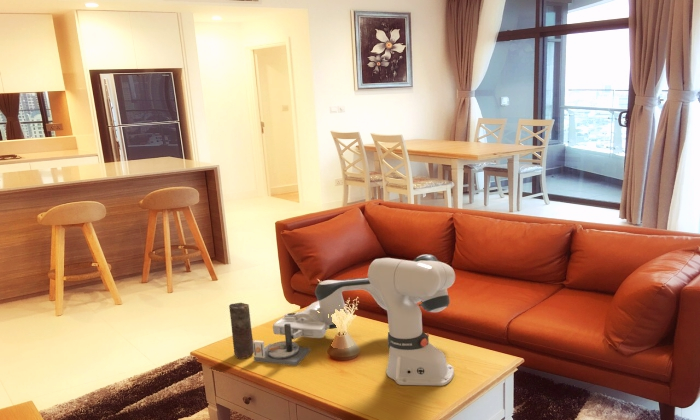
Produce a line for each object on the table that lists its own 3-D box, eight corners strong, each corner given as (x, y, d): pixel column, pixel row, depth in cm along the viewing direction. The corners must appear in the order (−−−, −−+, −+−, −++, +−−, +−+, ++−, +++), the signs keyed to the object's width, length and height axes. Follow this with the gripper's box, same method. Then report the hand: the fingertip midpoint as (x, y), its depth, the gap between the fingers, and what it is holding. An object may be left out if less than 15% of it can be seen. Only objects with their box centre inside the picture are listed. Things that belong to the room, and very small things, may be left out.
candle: (232, 353, 216) (227, 303, 213) (251, 349, 219) (246, 299, 216) (237, 361, 210) (231, 309, 206) (256, 356, 213) (251, 305, 209)
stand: (310, 351, 214) (308, 332, 212) (295, 366, 202) (293, 346, 201) (269, 347, 220) (268, 329, 218) (253, 362, 208) (251, 342, 206)
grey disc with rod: (298, 358, 205) (296, 326, 203) (266, 360, 205) (263, 328, 203) (299, 344, 217) (297, 314, 215) (269, 347, 216) (266, 317, 214)
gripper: (331, 332, 217) (317, 347, 204) (283, 328, 224) (266, 342, 211) (330, 317, 216) (316, 331, 203) (282, 313, 223) (265, 326, 210)
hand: (290, 337), depth 207 cm, fingers closed
